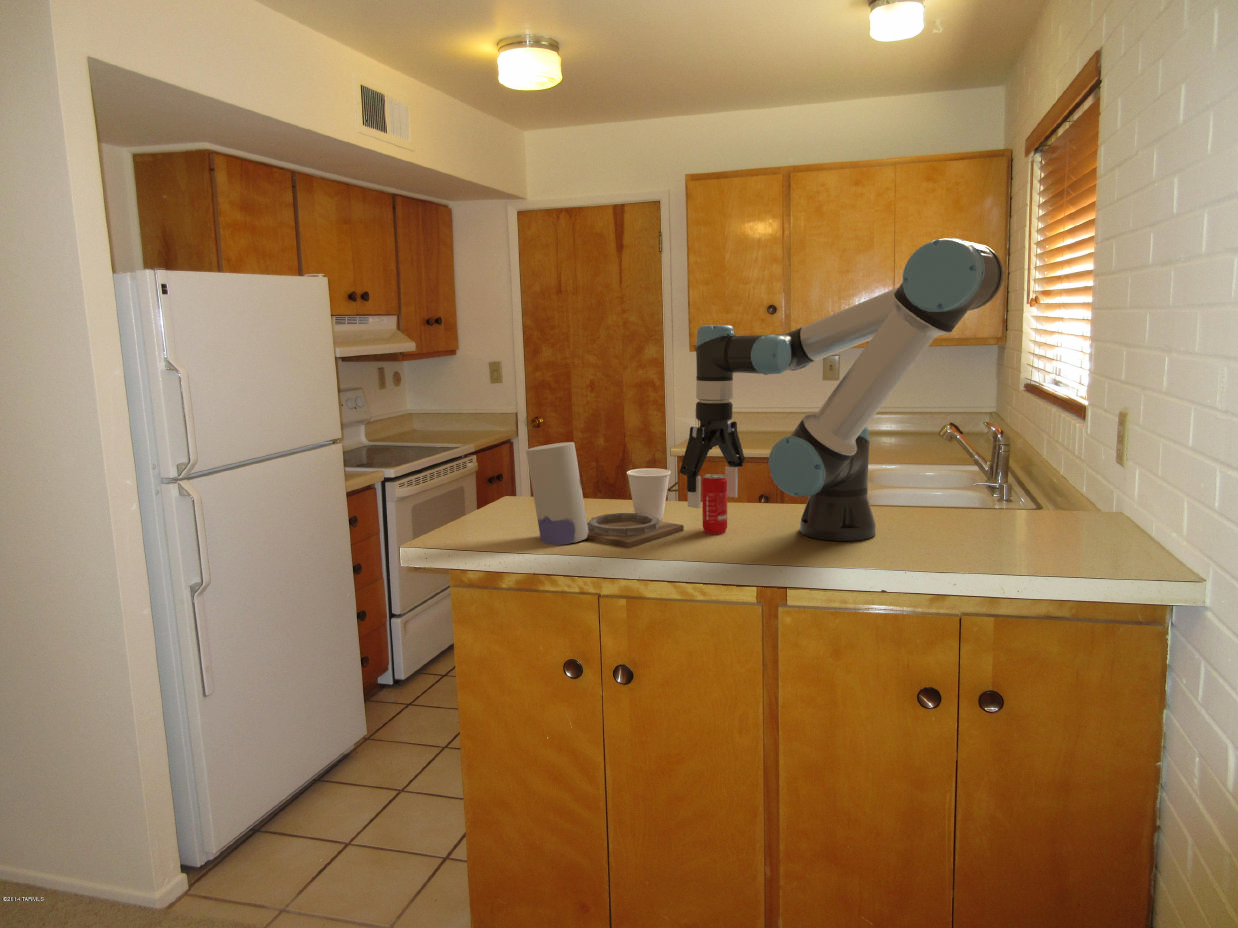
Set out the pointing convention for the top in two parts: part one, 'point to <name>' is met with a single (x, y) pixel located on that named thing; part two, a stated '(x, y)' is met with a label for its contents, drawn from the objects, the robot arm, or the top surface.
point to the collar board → (634, 538)
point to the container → (557, 493)
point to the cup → (649, 490)
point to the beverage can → (714, 503)
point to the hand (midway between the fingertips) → (713, 501)
